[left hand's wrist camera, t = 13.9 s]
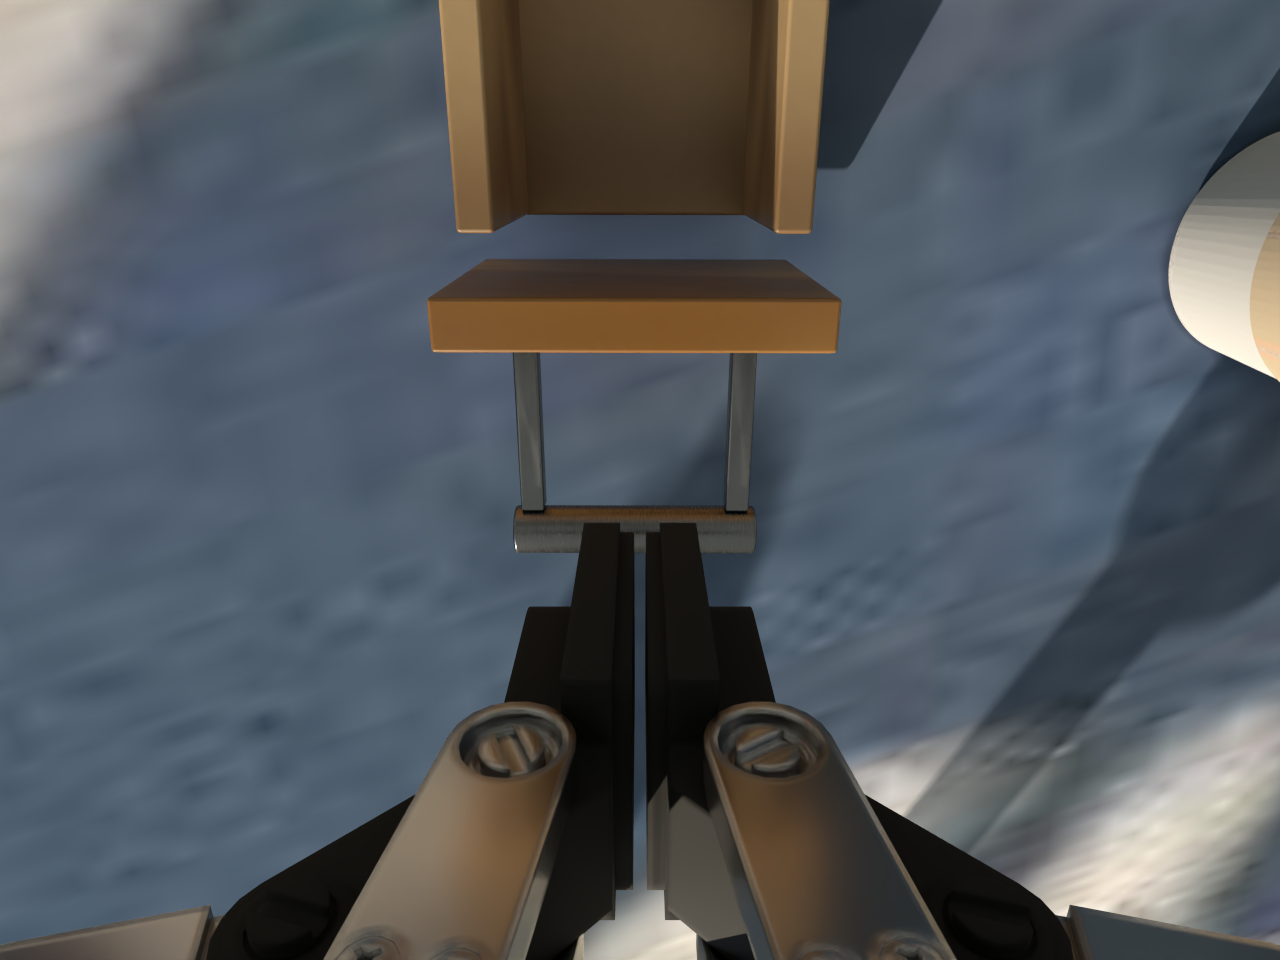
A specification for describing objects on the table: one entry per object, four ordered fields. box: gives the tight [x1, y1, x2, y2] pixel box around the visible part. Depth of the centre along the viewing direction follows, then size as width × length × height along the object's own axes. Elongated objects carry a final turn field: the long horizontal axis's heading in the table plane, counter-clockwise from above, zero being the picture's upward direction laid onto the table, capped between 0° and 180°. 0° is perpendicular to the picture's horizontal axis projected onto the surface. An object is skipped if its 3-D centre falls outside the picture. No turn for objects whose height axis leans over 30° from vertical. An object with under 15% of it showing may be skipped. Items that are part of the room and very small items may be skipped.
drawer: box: [427, 0, 842, 553], centre depth 19 cm, size 24×9×7 cm, turn 0°
